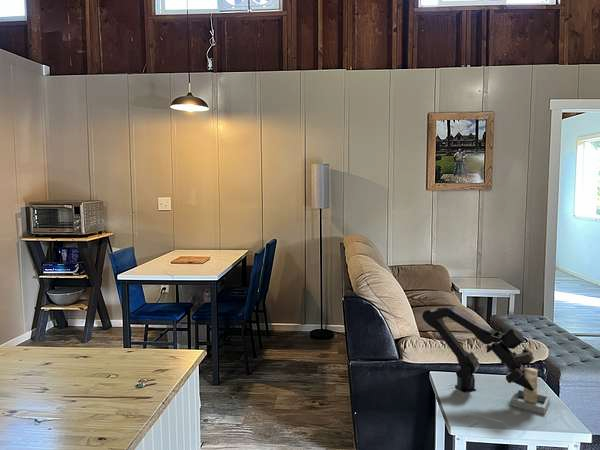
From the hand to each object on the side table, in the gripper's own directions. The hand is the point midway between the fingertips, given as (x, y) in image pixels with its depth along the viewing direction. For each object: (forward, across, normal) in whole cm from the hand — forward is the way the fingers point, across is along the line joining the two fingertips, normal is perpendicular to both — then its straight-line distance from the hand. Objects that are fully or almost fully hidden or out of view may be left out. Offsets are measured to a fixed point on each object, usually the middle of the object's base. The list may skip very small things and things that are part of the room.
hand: (534, 387), depth 179 cm
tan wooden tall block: (+4, 0, +6) cm, 7 cm away
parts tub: (+4, 0, +6) cm, 7 cm away
